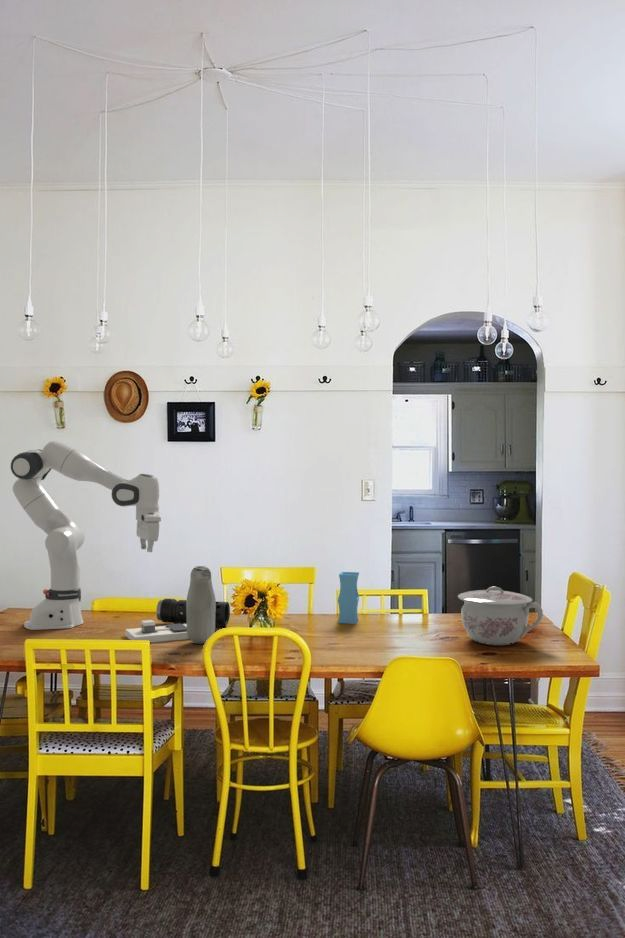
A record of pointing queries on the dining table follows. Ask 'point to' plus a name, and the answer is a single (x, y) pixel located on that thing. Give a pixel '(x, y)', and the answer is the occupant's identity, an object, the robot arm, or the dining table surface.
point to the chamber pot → (497, 615)
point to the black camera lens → (177, 613)
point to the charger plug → (148, 626)
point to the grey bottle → (200, 606)
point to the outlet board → (160, 633)
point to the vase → (348, 597)
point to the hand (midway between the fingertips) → (146, 550)
